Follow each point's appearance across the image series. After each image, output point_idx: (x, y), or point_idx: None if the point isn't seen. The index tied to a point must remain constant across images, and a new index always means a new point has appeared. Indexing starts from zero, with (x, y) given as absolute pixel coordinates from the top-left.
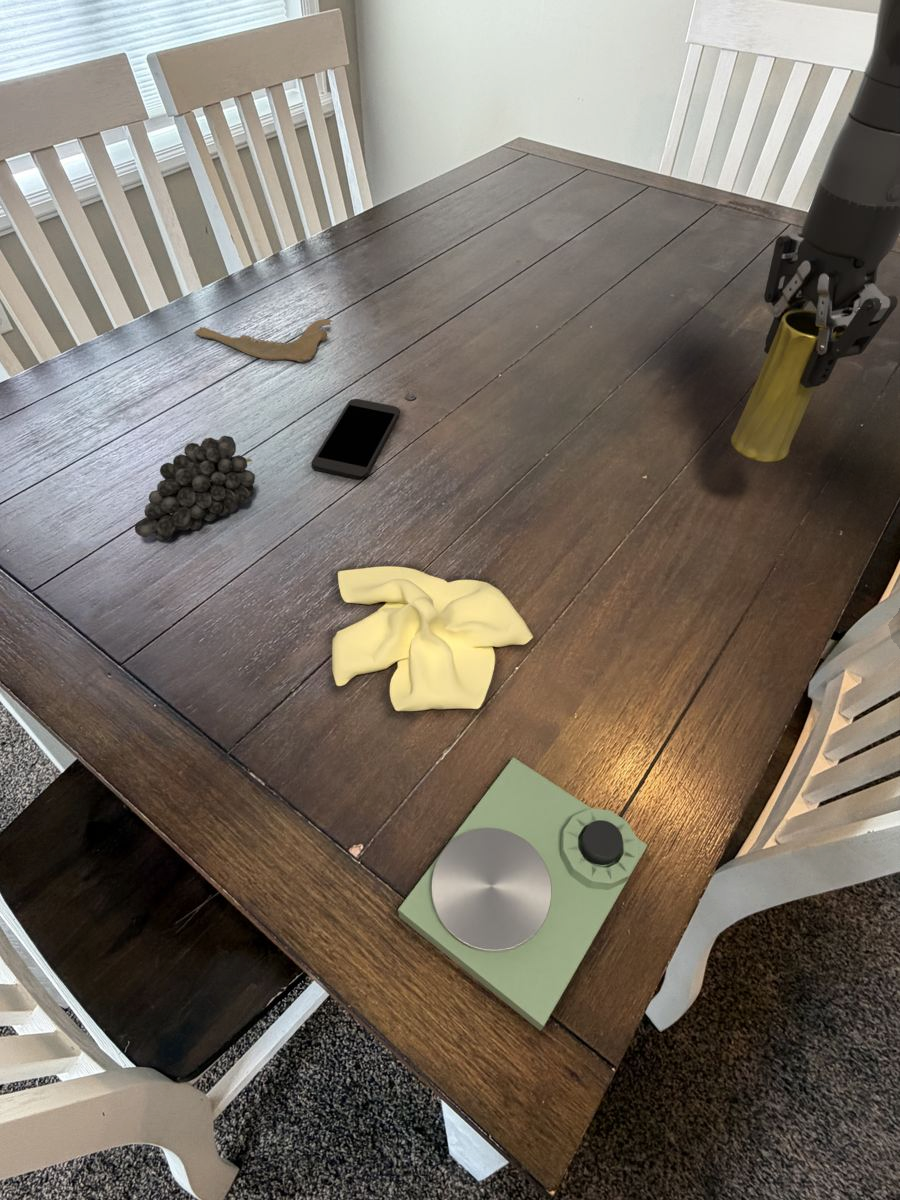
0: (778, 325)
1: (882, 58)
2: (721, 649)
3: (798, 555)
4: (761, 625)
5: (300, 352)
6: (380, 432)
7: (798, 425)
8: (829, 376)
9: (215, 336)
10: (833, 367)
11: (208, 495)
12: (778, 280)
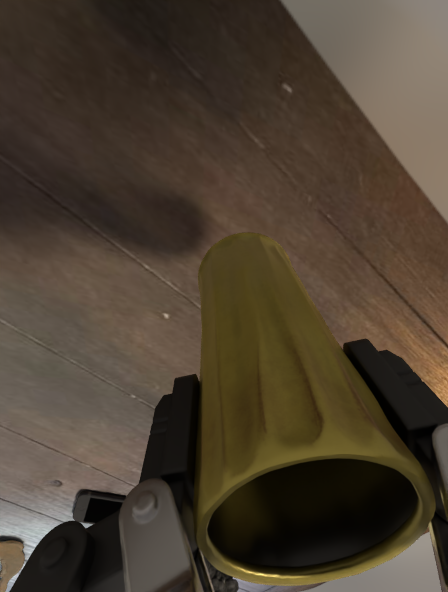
0: None
1: None
2: (406, 303)
3: (315, 176)
4: (395, 259)
5: (12, 550)
6: (118, 504)
7: (290, 267)
8: (408, 365)
9: (5, 585)
10: (428, 388)
11: (220, 590)
12: None
